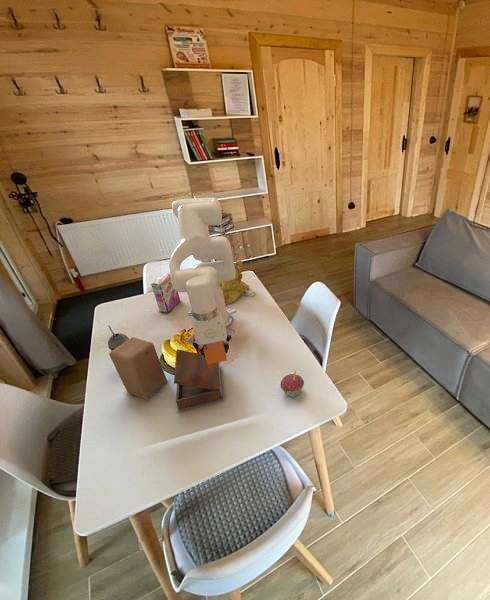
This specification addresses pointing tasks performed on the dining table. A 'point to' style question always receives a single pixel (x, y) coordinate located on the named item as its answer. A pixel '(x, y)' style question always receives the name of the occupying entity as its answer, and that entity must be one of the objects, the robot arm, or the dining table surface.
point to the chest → (196, 395)
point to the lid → (195, 371)
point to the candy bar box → (165, 293)
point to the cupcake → (292, 384)
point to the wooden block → (138, 367)
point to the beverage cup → (116, 340)
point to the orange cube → (214, 352)
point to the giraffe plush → (234, 285)
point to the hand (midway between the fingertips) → (215, 352)
